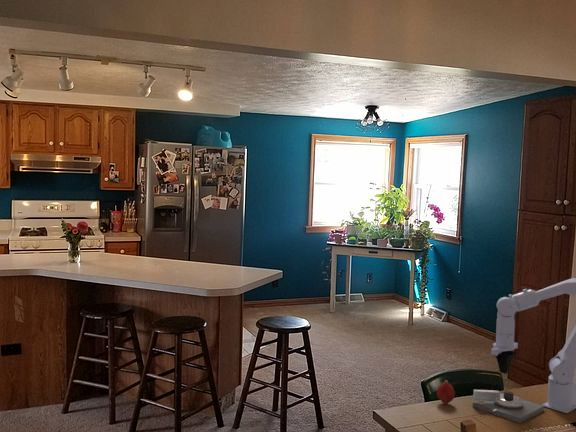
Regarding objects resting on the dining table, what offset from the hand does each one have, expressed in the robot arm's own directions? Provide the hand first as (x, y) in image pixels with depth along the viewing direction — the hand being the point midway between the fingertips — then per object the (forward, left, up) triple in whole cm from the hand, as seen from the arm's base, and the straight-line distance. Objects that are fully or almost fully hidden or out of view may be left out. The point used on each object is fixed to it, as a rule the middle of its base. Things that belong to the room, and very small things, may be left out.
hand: (503, 372), depth 184 cm
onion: (+19, -10, -10) cm, 24 cm away
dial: (+8, +3, -8) cm, 12 cm away
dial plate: (+6, +5, -9) cm, 12 cm away
